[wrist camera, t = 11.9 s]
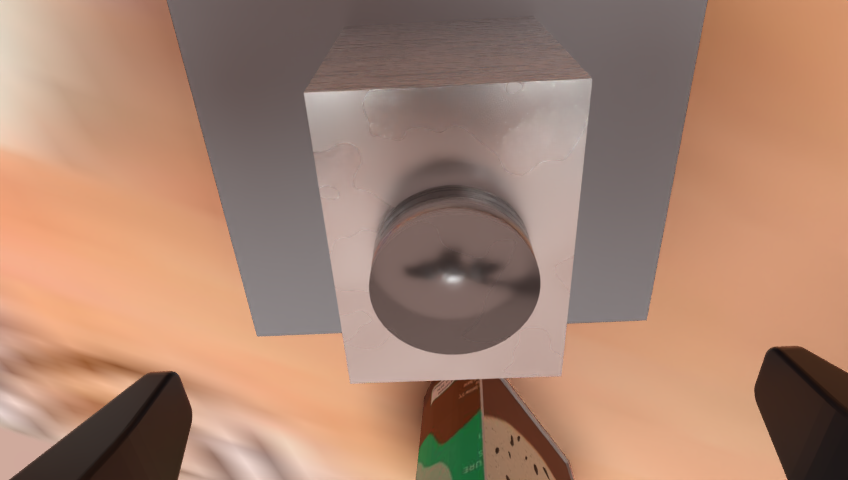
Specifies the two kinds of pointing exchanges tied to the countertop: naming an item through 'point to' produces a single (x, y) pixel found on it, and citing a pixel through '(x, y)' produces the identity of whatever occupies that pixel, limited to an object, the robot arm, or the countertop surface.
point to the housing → (450, 195)
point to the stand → (410, 3)
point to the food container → (484, 435)
